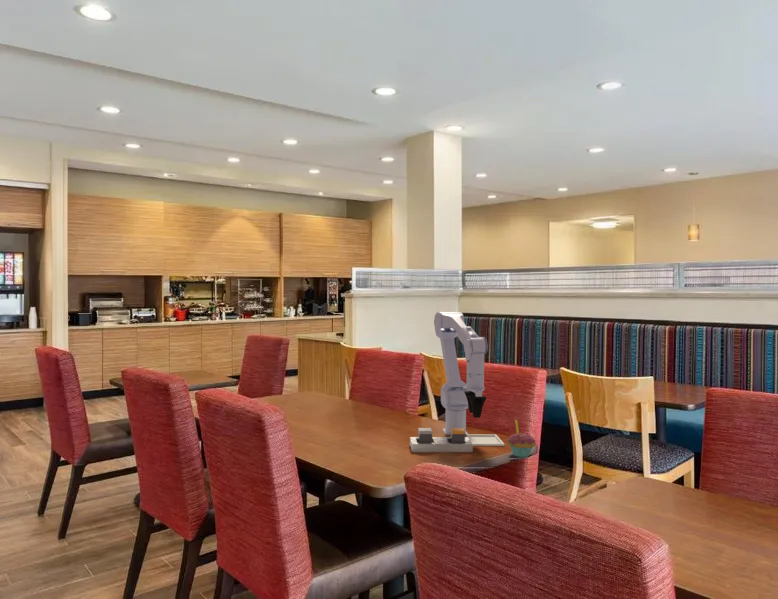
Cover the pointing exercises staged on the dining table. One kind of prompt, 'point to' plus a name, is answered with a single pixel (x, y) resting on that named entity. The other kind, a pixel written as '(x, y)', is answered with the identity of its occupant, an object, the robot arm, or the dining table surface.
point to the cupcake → (521, 443)
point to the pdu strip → (440, 445)
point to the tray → (485, 440)
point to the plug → (457, 435)
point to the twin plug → (424, 435)
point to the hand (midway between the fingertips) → (474, 414)
